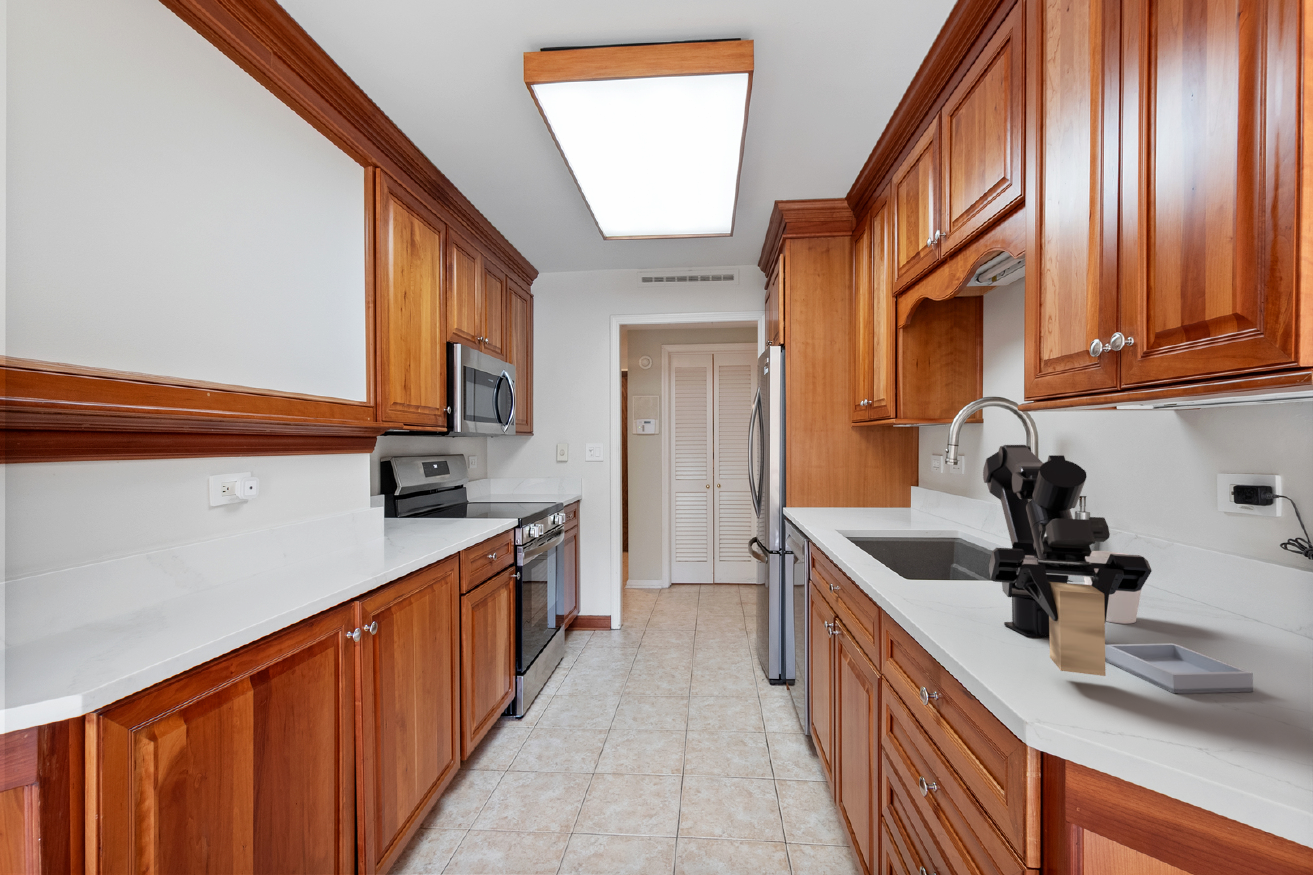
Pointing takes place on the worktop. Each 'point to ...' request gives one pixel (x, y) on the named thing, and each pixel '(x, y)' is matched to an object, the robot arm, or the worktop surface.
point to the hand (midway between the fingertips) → (1079, 621)
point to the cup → (1117, 595)
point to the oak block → (1078, 629)
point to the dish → (1178, 668)
